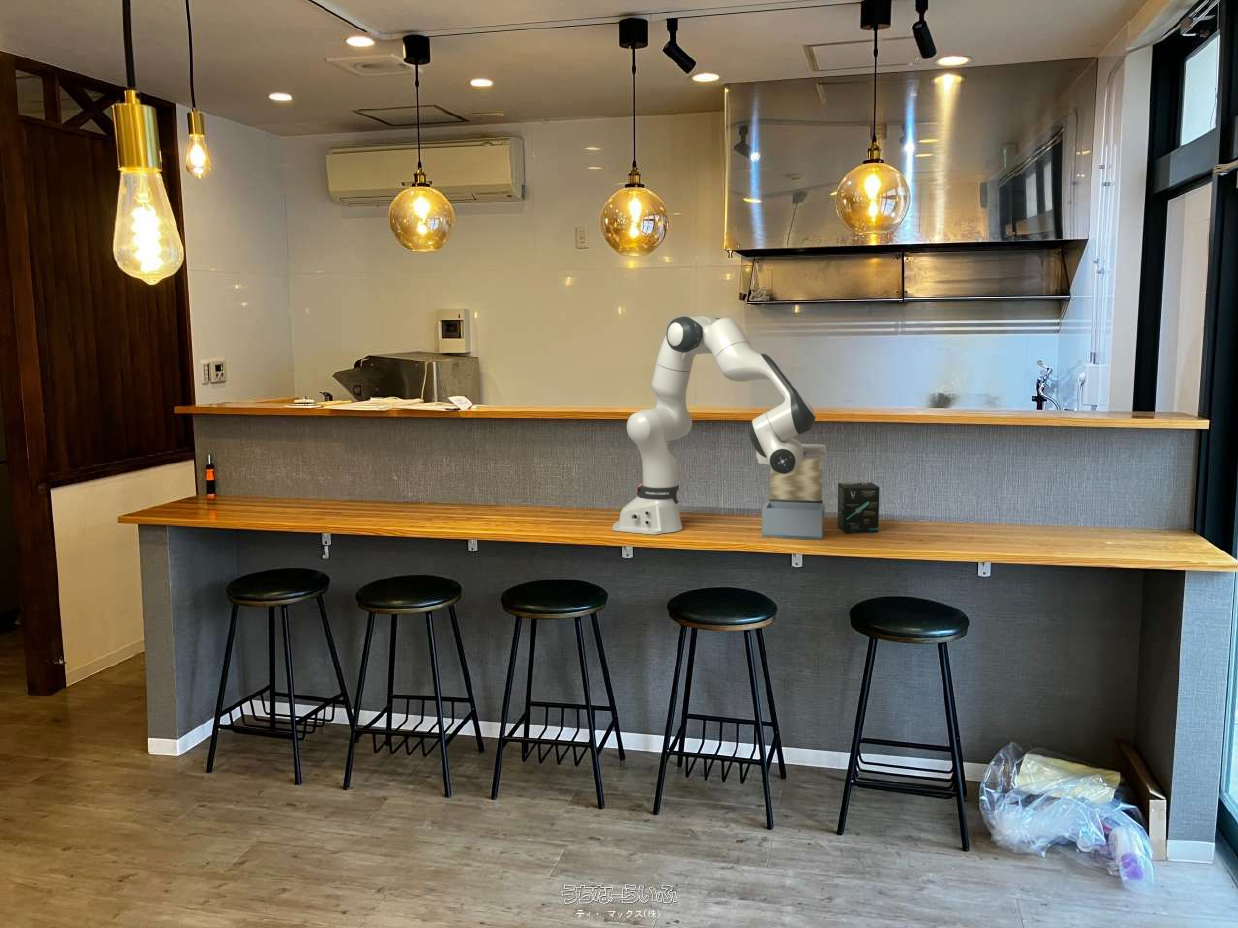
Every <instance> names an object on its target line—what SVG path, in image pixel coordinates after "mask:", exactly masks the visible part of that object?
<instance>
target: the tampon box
mask: <svg viewBox="0 0 1238 928" xmlns="http://www.w3.org/2000/svg"><path fill="white" fill-rule="evenodd" d="M879 513H880V486H878V485H876V484H875V483H873V482H868V481H867V482H844V483H843V482H841V483H840V482H838V483H837V527H838V528H839V530H840V531H842V533H844V534H869V533H870V534H871V533H873V534H874V533H875V534H876V533H879V519H880V514H879Z"/></svg>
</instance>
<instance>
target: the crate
mask: <svg viewBox="0 0 1238 928" xmlns="http://www.w3.org/2000/svg"><path fill="white" fill-rule="evenodd" d="M825 506H826V504H825V503H824V502H823V503H797V502H771V501H769V500H768V501H766V502H765V503H764V505H763V506H762V508H761V538H765V537H777V538H776V539H786V538H787V539H790V540H805V541H807V540H808V541H822V540H823V538H824V534H825V518H826V517H825V515H826V514H825V513H826V512H825V510H826V507H825Z"/></svg>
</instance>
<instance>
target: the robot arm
mask: <svg viewBox="0 0 1238 928" xmlns="http://www.w3.org/2000/svg"><path fill="white" fill-rule="evenodd" d="M665 334H666V335H665V336H664V339H663V341H662V343H661V345H660V348H659V351H658V354H657V358H656V361H655V362H656V363H655V367H654V370H653V371H654V372H653V375H652V379H651V389H652V391H653V392H654V393H655V394H656V405H655V407H652V408H651V407H650V408H643V409H641V410H639V411H635V412H634V413H632V414H631V415H630V416H629V417H628V419H627V422H626V432H627V435H628V437H629V439H631V441H632V442H634V443H635V445H636V446H637V449H638V451H639V455H640V457H641V458H640V459H641V464H642V483H640V484H638V487H636V489H635V491H636V497H635V498H634V499H632V500H631V501H629V502H628V503H627V504H626V505H624V506H623V507H622V508H621V510H620V514H619V520H617V521H616V522H615V523H613V525H612V528H611V529H612V531H614V532H624V533H632V534H634V533H635V534H645V535H655V536H656V535H660V534H668V533H675V532H679V531H682V530H683V528H684V527H683V525H682V519H681V515H680V507H679V502H680V485H679V484H678V481H679V480H678V475H679V474H678V469H679V468H678V461H677V459H676V458H675V457H674V456H673V455H672V453H671V452H670V450H669V445H668V442H670V441H675V440H678V439H679V440H680V438H683V437H684V436H686V435H688V434H689V433H690V432H691V430H692V427H693V418H692V416H691V415H692V414H691V413H690V412H689V411H688V408H687V400H686V399H687V390H688V385H689V380H690V377H691V372H692V369H693V363H694V358H695V356H696V355H701V354H712V357H713V359H714V361H715V362H716V363H715V364H716V365H717V368H718V369H719V371H720V372H721V374H722V375H723V377H725V378H727V379H728V380H730V381H733V382H743V383H745V382H750V381H754V380H755V381H756V380H769V381H770V382H771V383H772V384H773V385H774V386H775V388H776V389H777V390H778V391H779V393H780V395H782V398H784V401H783V402H782V403H781V404H779V405H778V406H776V407H774V408H772V409H770V410H768V411H766V412H764V413H762V414H760V415H759V416H757V417H755V418H753V419H751V422H750V424H749V429H748V436H749V438H750V441H751V444H752V445H753V447H754V449H755V458H756V460H757V463H758V464H760V465H766V466H769V467H770V470H771V469H772V470H773V471H774V472H776V473H778V474H781V475H786V474H790V473H792V472H794V471H795V470H796V469H797V468H798V467H799V465H800V464H801V462H802V460H803V459H822V458H823V459H824V458H826V455H827V445H825V444H821V443H820V444H819V443H802V442H800V441H799V440H798V439H795V437H797V436H798V435H802V434H804V433H807V432H809V431H811V430H812V428H813V427H814V425H815V421H816V414H815V411H814V408H813V407H812V406H811V404H810V403H809V402H808V401H807V400H806V399H805V398H804V397H803V395H801V394H800V393H799V392H798V391H797V389H796V388H795V387H794V385H793V384H792V383H791V381H790V380H789V378H788V377H787V376H786V374H785V373H784V372H783V371H782V370H781V368H780V367H779V366H778V365H777V363H776V362H775V361H774V360H773V359H772V357H770V355H768V354H767V353H760V352H757V351H756V350H755V349H754V348H753V346H752V345H751V342H750V341H749V339H748V336H746V334H745V332H744V331H743V330H742V328H741V327H740V325H739V324H738V323H737V321H735V320H734V319H732V318H729V317H722V318H719V317H716V318H715V317H711V316H703V315H702V316H700V315H699V316H680V317H676V318H674V319H672V320H671V321H670V322H669V324H668V326H667V328H666V333H665Z"/></svg>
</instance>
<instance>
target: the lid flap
mask: <svg viewBox="0 0 1238 928" xmlns="http://www.w3.org/2000/svg"><path fill="white" fill-rule="evenodd" d="M823 459H824V458H822V459H803V460H802V462H801V464H800V465H799V467H798V468H797V469H796V470H795V471H794V472H792V473H790V474H786V475H781V474H778V473H776V472H774V471H773V470H772V469H771V468H770V480H769V481H770V484H769V485H770V488H769V489H770V490H769V491H770V492H769V496H770V497H769V499H768V501H771V502H797V503H823V504H824V502H823V501H824V500H823V467H824V465H823V463H824V462H823V461H824V460H823Z"/></svg>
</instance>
